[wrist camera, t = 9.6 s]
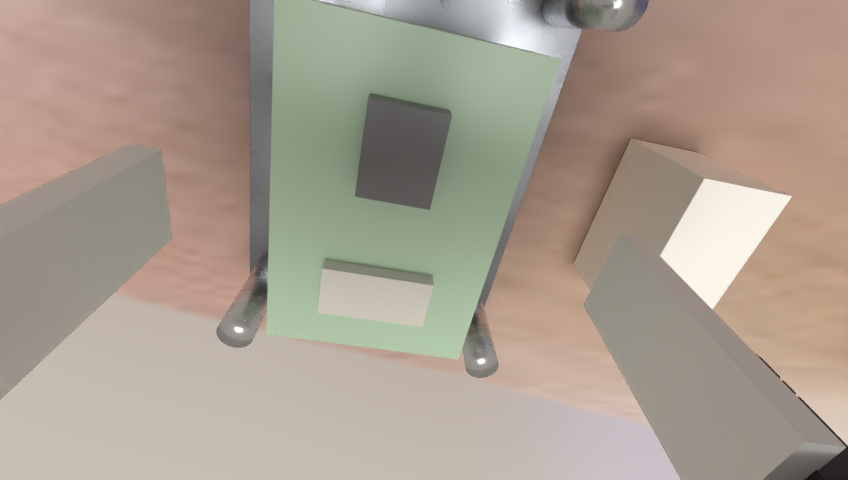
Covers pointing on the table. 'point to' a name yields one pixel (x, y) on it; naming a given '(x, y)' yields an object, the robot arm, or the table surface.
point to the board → (390, 174)
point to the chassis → (445, 10)
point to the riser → (682, 216)
